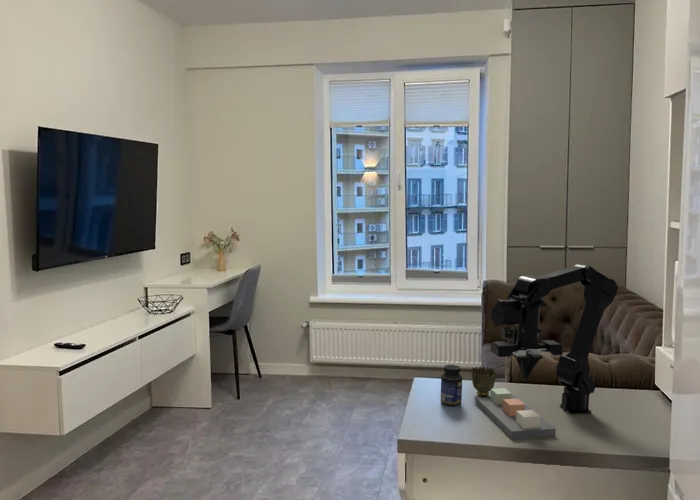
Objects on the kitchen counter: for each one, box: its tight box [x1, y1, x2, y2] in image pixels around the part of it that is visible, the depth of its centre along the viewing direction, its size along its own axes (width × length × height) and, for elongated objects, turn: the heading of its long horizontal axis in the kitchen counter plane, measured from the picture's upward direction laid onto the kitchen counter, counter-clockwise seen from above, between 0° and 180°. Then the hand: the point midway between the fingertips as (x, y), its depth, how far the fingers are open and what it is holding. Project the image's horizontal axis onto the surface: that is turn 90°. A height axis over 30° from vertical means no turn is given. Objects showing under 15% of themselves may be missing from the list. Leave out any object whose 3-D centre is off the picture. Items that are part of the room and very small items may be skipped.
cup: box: [470, 366, 497, 398], centre depth 185 cm, size 8×7×8 cm
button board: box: [475, 395, 556, 440], centre depth 167 cm, size 12×24×2 cm, turn 10°
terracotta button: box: [502, 398, 526, 416], centre depth 167 cm, size 4×4×3 cm
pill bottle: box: [440, 364, 463, 408], centre depth 178 cm, size 6×6×11 cm
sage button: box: [489, 387, 512, 405], centre depth 175 cm, size 4×4×3 cm
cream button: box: [516, 409, 541, 429], centre depth 159 cm, size 4×4×3 cm
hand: (524, 378), depth 167 cm, fingers closed
